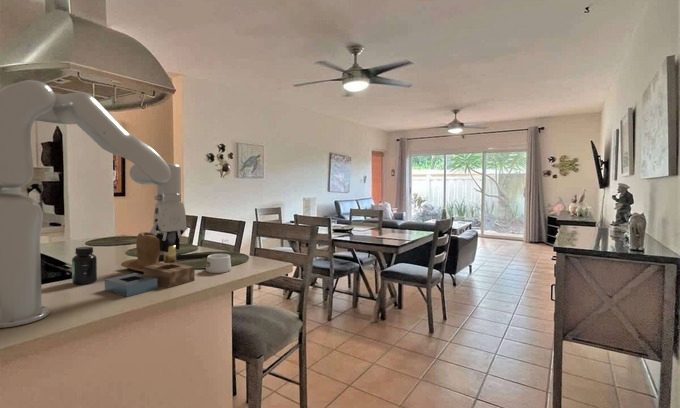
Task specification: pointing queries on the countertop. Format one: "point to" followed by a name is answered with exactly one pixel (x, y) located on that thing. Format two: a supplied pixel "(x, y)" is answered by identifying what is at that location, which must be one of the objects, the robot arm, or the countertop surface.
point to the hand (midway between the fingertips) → (169, 249)
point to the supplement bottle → (84, 266)
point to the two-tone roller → (170, 247)
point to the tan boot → (145, 252)
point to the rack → (171, 273)
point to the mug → (218, 263)
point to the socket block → (130, 284)
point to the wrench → (185, 256)
